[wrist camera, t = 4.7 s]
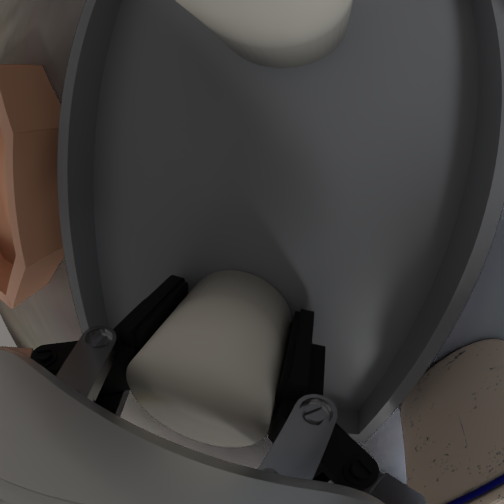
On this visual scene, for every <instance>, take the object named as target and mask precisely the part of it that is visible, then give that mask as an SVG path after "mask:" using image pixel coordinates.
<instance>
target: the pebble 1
mask: <svg viewBox="0 0 504 504" xmlns="http://www.w3.org/2000/svg"><path fill="white" fill-rule="evenodd" d="M175 1H176V2H178V3H179V4H180V5H181V6H183V7H184V8H185V9H186V10H188V11H189V12H190V13H191V14H192V15H194V16H195V17H196V18H197V19H198V20H200V21H201V22H202V23H203V24H204V25H205V26H206V27H208V28H209V29H210V30H211V31H212V32H213V33H214V34H215V35H216V36H217V37H219V38H220V39H221V40H222V41H223V42H224V43H225V44H226V45H227V46H228V47H229V48H230V49H231V50H232V51H233V52H235V53H236V54H237V55H239V56H240V57H241V58H243V59H245V60H247V61H249V62H252V63H254V64H257V65H261V66H265V67H272V68H293V67H300V66H304V65H308V64H311V63H314V62H316V61H318V60H320V59H322V58H324V57H326V56H327V55H329V54H330V53H331V52H333V51H334V50H335V49H336V48H337V47H338V45H339V44H340V43H341V41H342V40H343V38H344V36H345V33H346V30H347V26H348V21H349V17H350V12H351V7H352V3H353V0H175Z"/></svg>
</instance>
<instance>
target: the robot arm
mask: <svg viewBox="0 0 504 504" xmlns="http://www.w3.org/2000/svg"><path fill="white" fill-rule="evenodd" d="M187 295H188V283H187V282H185V279H184V278H182V277H179V276H175V275H171V276H170V277H168V278H167V279H166V280H165V281H164V282H163V283H162V284H161V285H160V286H159V287H158V288H157V289H156V290H155V291H153V292H152V293H151V294H150V295H149V296H148V297H147V298H145V299H144V300H143V301H142V302H141V303H140V304H139V305H137V306H136V307H135V308H134V309H133V310H132V311H131V312H130V313H129V314H128V315H127V316H126V317H125V318H124V319H123V320H122V321H121V322H120V323H119V324H118V325H117V326H116V327H115V328H114V329H111V328H110V327H107V326H102V325H99V326H94V327H91V328H89V329H87V330H86V331H85V332H84V333H83V335H82V336H81V337H80V339H79V340H78V341H73V342H65V343H56V344H47V345H42V346H39V347H37V348H36V349H35V350H34V351H33V348H17V347H3V346H2V347H0V504H427V502H426V500H425V497H424V496H422V495H421V494H420V493H418V492H417V491H415V490H413V489H412V488H410V487H408V486H407V485H405V484H403V483H402V482H400V481H399V480H397V479H395V478H394V477H392V476H391V475H389V474H388V473H385V474H383V473H381V472H380V471H379V468H378V465H377V463H376V461H375V460H374V459H373V458H372V457H371V456H370V455H369V454H368V453H367V452H366V451H365V450H364V449H363V448H362V447H361V446H359V445H358V444H357V443H356V442H355V441H354V440H353V439H352V438H351V437H350V436H349V435H348V434H347V433H346V432H345V431H344V430H343V429H342V428H341V427H340V426H339V425H338V424H337V423H336V420H337V416H338V412H337V408H336V406H335V404H334V403H333V402H332V401H331V400H330V399H328V398H326V397H324V396H323V389H324V373H325V346H322V345H317V344H313V343H312V336H313V325H314V311H310V310H306V309H301V311H300V312H299V311H295V314H294V317H293V321H292V324H291V329H290V334H289V338H288V343H287V348H286V353H285V357H284V362H283V366H282V371H281V375H280V380H279V384H278V388H277V392H276V397H275V406H274V410H273V414H272V418H271V422H270V426H269V430H268V433H267V434H268V435H269V436H268V438H269V439H270V440H271V441H272V443H273V445H272V447H271V449H270V450H269V452H268V454H267V455H266V457H265V458H264V460H263V462H262V463H261V465H260V466H259V468H258V469H254V468H250V467H246V466H242V465H238V464H234V463H231V462H227V461H224V460H221V459H217V458H214V457H211V456H208V455H205V454H202V453H199V452H197V451H194V450H191V449H189V448H186V447H183V446H181V445H178V444H176V443H173V442H171V441H168V440H166V439H164V438H161V437H159V436H157V435H155V434H153V433H150V432H148V431H146V430H144V429H142V428H140V427H138V426H136V425H134V424H132V423H130V422H128V421H126V420H124V419H122V418H121V417H120V416H121V413H122V410H123V408H124V405H125V402H126V400H127V397H128V394H129V390H130V388H129V385H128V383H127V378H126V371H127V367H128V365H129V363H130V362H131V361H132V359H133V358H134V357H135V356H136V355H137V353H138V352H139V351H140V350H141V349H142V347H143V346H144V345H145V344H146V343H147V342H148V340H149V339H150V338H151V337H152V336H153V334H154V333H155V332H156V331H157V330H158V328H159V327H160V326H161V325H162V324H163V323H164V321H165V320H166V319H167V318H168V317H169V316H170V314H171V313H172V312H173V311H174V310H175V309H176V307H177V306H178V305H179V304H180V303H181V302H182V300H183V299H184V298H185V297H186V296H187Z"/></svg>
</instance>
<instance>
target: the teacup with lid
mask: <svg viewBox="0 0 504 504" xmlns="http://www.w3.org/2000/svg"><path fill="white" fill-rule="evenodd" d="M400 416H401V423H402V431H403V439H404V449H405V460H406V476H407V486H408V487H410V488H412V489H413V490H415V491H417V492H418V493H420V494H421V495H422V496H424V497H425V500H426V502H427V504H504V341H502V340H499V339H486V340H481V341H478V342H475V343H472V344H469V345H467V346H465V347H463V348H461V349H459V350H457V351H455V352H453V353H451V354H450V355H448V356H447V357H445V358H444V359H442V360H441V361H439V362H438V363H436V364H435V365H434V366H433V367H431V368H430V369H429V370H428V371H427V372H425V373H424V374H423V375H422V377H421V378H420V380H419V381H418V382H417V384H416V385H415V386H414V388H413V389H412V390H411V391H410V393H409V394H408V395H407V396H406V398H405V399H404V400H403V403H402V406H401V410H400Z"/></svg>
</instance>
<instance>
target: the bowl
mask: <svg viewBox="0 0 504 504" xmlns="http://www.w3.org/2000/svg"><path fill="white" fill-rule="evenodd" d="M60 110H61V103H60V102H59V100H58V98H57V95H56V93H55V91H54V89H53V87H52V85H51V83H50V81H49V79H48V77H47V74H46V72H45V70H44V68H43V65H25V64H0V299H1V300H2V301H3V302H5V303H6V304H7V305H8V306H9V307H10V308H11V309H13V308H15V307H16V306H18V305H19V304H20V303H22V302H23V301H24V300H26V299H27V298H29V297H30V296H31V295H33V294H34V293H36V292H37V291H39V290H40V289H42V288H43V287H45V286H46V285H47V284H48V283H49V281H50V280H51V278H52V276H53V274H54V273H55V271H56V269H57V268H58V266H59V264H60V263H61V261H62V260H63V258H64V249H63V242H62V235H61V226H60V215H59V202H58V179H57V155H58V132H59V120H60Z"/></svg>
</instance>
